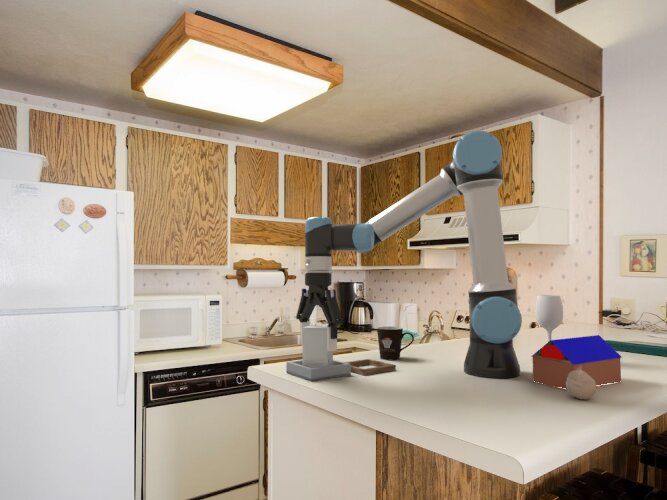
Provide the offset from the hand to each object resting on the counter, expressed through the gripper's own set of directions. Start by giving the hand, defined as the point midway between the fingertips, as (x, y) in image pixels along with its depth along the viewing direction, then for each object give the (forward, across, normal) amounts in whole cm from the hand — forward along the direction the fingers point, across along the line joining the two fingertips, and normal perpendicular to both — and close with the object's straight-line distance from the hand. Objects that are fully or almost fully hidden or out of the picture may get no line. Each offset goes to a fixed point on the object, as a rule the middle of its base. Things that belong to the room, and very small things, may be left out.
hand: (318, 347), depth 132 cm
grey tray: (+7, 0, 0) cm, 7 cm away
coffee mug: (+7, -5, +33) cm, 34 cm away
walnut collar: (+7, +3, +15) cm, 17 cm away
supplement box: (+7, 0, 0) cm, 7 cm away
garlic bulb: (+8, +56, +34) cm, 66 cm away
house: (+8, +47, +49) cm, 68 cm away
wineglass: (+7, +27, +71) cm, 76 cm away
